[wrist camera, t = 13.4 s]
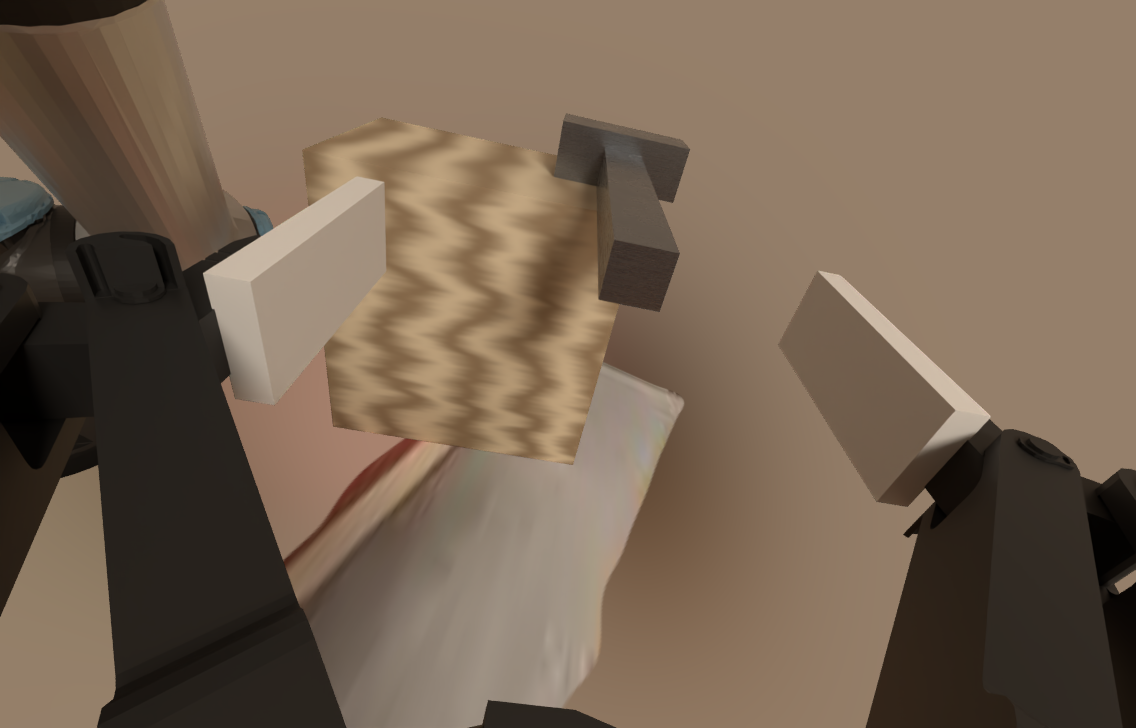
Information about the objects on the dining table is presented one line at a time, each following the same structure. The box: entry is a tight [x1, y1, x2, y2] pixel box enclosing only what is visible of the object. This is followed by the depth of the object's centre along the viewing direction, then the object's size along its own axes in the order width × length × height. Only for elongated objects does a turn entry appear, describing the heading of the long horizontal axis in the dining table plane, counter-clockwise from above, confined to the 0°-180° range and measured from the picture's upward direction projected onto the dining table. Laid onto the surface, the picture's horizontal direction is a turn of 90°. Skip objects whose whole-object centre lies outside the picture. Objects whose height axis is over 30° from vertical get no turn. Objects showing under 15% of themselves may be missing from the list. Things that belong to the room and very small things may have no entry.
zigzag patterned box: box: [302, 118, 619, 465], centre depth 56 cm, size 28×20×30 cm
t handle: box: [554, 114, 690, 312], centre depth 37 cm, size 12×30×5 cm, turn 177°
